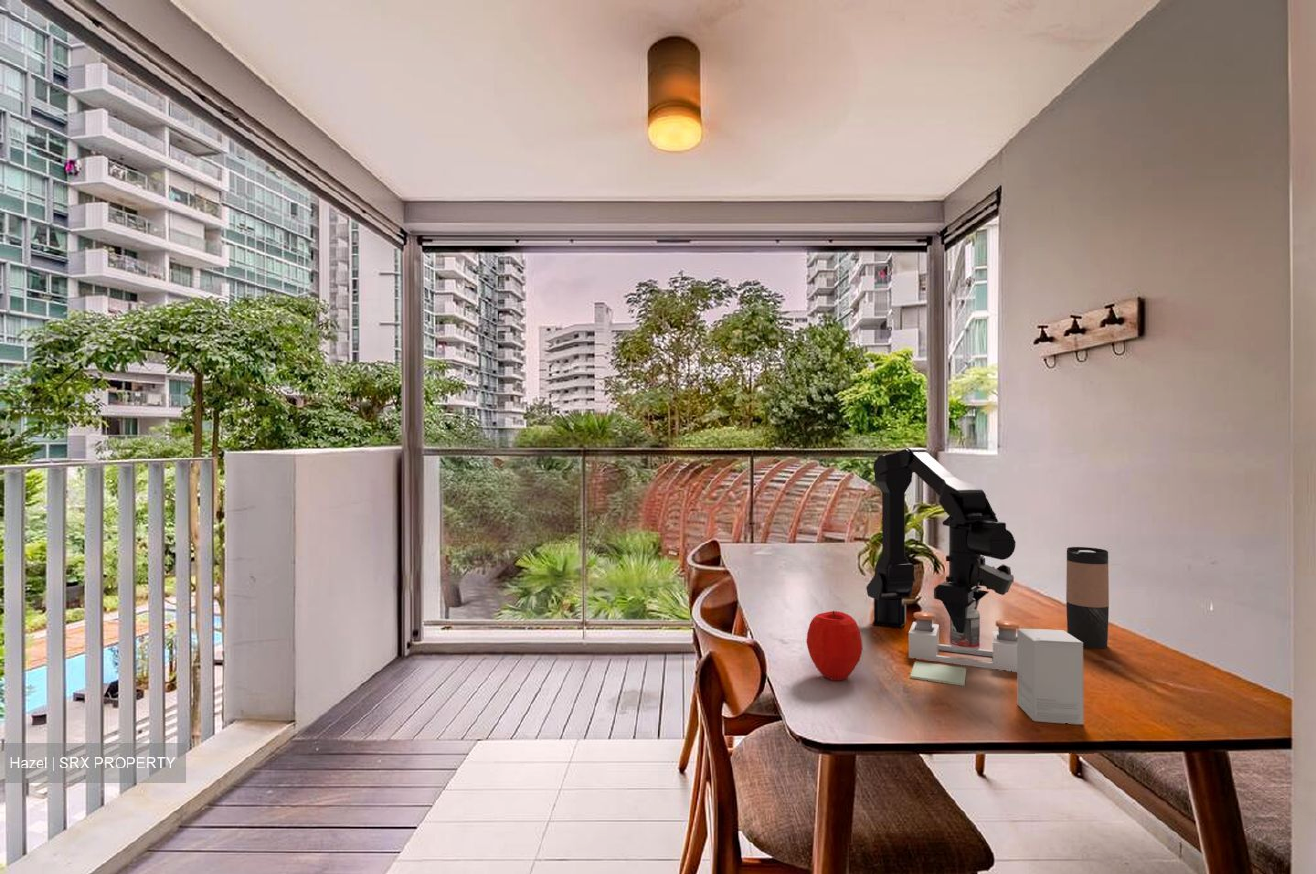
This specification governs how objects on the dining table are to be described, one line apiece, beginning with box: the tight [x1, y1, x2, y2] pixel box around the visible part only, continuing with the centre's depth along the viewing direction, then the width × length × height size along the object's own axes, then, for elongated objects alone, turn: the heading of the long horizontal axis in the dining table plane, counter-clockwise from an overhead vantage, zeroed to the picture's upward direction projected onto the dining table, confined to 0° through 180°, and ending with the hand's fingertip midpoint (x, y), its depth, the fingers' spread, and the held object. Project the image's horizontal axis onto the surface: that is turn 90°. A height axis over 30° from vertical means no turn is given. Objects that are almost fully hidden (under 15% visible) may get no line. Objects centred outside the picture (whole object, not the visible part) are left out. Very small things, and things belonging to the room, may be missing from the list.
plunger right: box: [995, 620, 1020, 642], centre depth 132 cm, size 4×4×5 cm
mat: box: [909, 661, 967, 687], centre depth 126 cm, size 9×9×1 cm
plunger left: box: [913, 611, 936, 632], centre depth 138 cm, size 4×4×5 cm
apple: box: [806, 610, 863, 682], centre depth 125 cm, size 10×10×12 cm
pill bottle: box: [949, 598, 981, 651], centre depth 135 cm, size 5×5×10 cm
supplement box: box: [1016, 628, 1084, 725], centre depth 108 cm, size 7×7×13 cm
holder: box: [908, 621, 1017, 673], centre depth 135 cm, size 20×9×5 cm, turn 64°
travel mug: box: [1065, 546, 1110, 650], centre depth 145 cm, size 8×8×20 cm
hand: (964, 629), depth 135 cm, fingers closed on pill bottle, 5 cm apart
